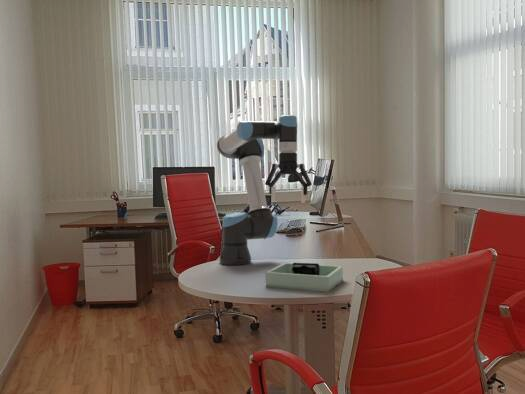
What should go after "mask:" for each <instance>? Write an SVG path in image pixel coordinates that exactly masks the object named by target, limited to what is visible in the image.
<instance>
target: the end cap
mask: <svg viewBox="0 0 525 394" xmlns="http://www.w3.org/2000/svg"><path fill="white" fill-rule="evenodd" d="M292 263H293V267H292V271H293V274H305V275H319V274H320V268H319V265H320V264H319V263H316V262H315V263H313V262H312V263H311V262H292Z"/></svg>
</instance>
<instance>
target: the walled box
mask: <svg viewBox="0 0 525 394" xmlns="http://www.w3.org/2000/svg"><path fill="white" fill-rule="evenodd" d="M293 263H294V262H292V263H291V262H284V263H281V264H279V265H278V266H275V267H273V268H272V269H270V270H268V271H266V272H265V287H266V288H274V289H288V290H299V291H308V292H310V291H312V292H321V291H323V292H322V293H324V292H325V293H330V292H331V291H332V290H333V289H335V288H336V287H337V286H338V285H339V284H340V283H341V282H342V281H343V278H344V277H343V276H344V273H343V272H344V271H343V270H344V269H343V266H339V265H327V264H319V268H320V274H319V275H305V274H293V271H292V267H293ZM336 285H337V286H336ZM330 290H331V291H330ZM329 291H330V292H329Z"/></svg>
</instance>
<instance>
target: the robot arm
mask: <svg viewBox="0 0 525 394" xmlns="http://www.w3.org/2000/svg"><path fill="white" fill-rule="evenodd" d="M297 119H298V117H297V116H296V115H294V114H293V115H292V114H287V115H286V114H284V115H280V116H279V118H278V121H258V120H257V121H256V120H255V121H254V120H241V121H239V122H238V123H237V126H236V129H235V130H234V131H232V132H230V133H228V134H227V133H226V134H224V135H222V136H221V137H219V138H218V141H217V142H216V143H217V144H216V147H217V151H218V153H219V154H220V155H222V157H223V158H224V157H225V158H227V159H233V160H236V159H237V160H238V163H239V165H241V166H242V169H243V175H244V183H245V187H246V188H245V189H246V194H247V200H248V207H249V210H248V212H233V213H229V214H226V215H224V216H223V218H222V223H221V224H222V225H221V226H222V249H221V252H220V254H219V264H220V265H225V266H241V265H242V266H243V265H248V264H251V263H252V255H251V253H250V250H249V248H248V240H260V239H264V240H265V239H271V238H273V237H274V236H275V235H276V234H277V231H278V217H277V216H276V214H274V213H272V210H271V208H270V207H268V203H267V199H266V193H265V192H266V191H265V188H264V185H265V186H267V187H269V189H268V191H269V195H270V196H271V197H270V198H271V203H274V202H275V203H276V186H275V185H276V184H277V182H278V181H279V180H280V178H281V177H282V176H283V175H293V176H294V177H295V178H296V180H297V181H299V184H300V185H302V187H301V199H300V200H301V204H305V203H306V196H307V195H308V187H311V186H312V182H311V179H310V177H309V175H308V173H307V171H306V169H305V164H304V163H299V164H298V153H297V152H298V121H297ZM264 139H265V140H278V143H279V144H278V146H279V147H278V149H279V150H278V151H279V152H280V153H279V155H278V160H279V162H278V163H272V164H271V169H270V172H269V174H268V176H267V179H266V181H265V183H264V181H263V177H262V176H263V175H262V170H261V165H260V163H261V161H262V158H263V157H264V155H265V146H264V142H263V140H264ZM277 169H279V171H278V172H277ZM297 169H298V170H300V172H301V173H299V172H298V170H297ZM276 172H277V174H276V175H275V173H276ZM300 174H301V175H302V176H303V177H302V176H301V175H300ZM274 175H275V176H274ZM273 177H274V178H273ZM303 178H304V179H303Z"/></svg>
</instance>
